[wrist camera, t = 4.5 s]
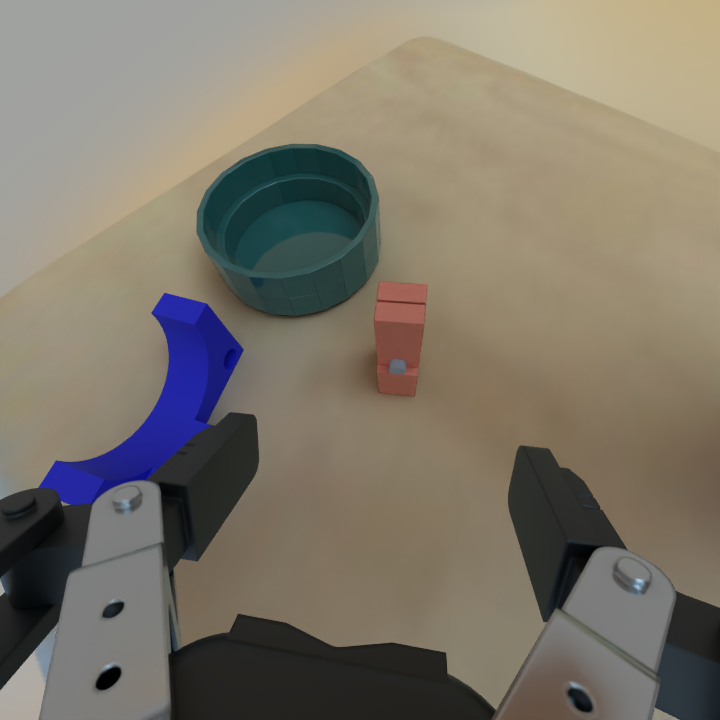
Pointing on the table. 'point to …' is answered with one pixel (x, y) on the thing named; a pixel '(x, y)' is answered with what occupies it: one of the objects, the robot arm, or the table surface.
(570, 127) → the table surface
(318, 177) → the bowl
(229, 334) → the cable clip
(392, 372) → the clothespin
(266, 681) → the robot arm
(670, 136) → the table surface
